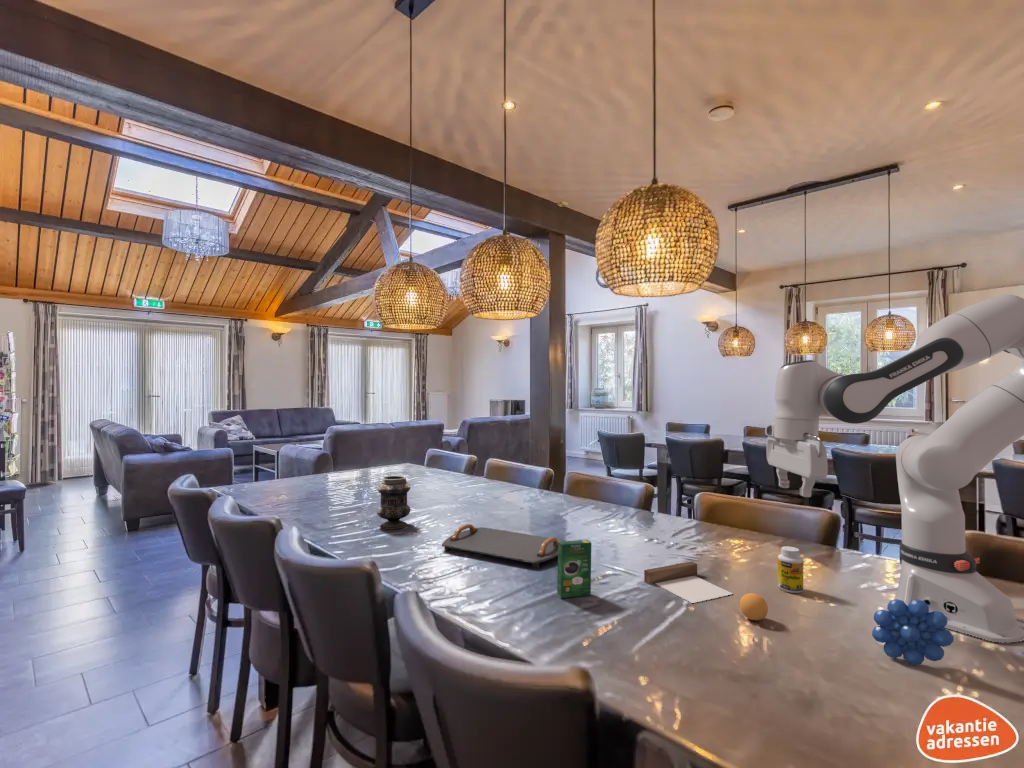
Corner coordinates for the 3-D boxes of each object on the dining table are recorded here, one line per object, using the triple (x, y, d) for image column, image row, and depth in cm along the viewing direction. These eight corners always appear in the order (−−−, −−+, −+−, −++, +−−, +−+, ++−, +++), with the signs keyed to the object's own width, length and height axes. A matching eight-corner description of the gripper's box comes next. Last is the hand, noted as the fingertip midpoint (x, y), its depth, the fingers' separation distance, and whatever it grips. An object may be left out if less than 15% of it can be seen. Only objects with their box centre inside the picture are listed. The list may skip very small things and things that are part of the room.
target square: (733, 594, 122) (733, 593, 122) (692, 603, 117) (692, 603, 117) (694, 576, 134) (694, 575, 134) (655, 584, 128) (655, 583, 128)
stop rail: (697, 574, 135) (697, 563, 135) (649, 584, 128) (649, 572, 128) (691, 572, 137) (691, 561, 137) (644, 581, 130) (644, 570, 130)
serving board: (432, 552, 156) (432, 532, 156) (474, 533, 176) (474, 516, 176) (544, 574, 137) (544, 551, 137) (576, 550, 157) (576, 531, 157)
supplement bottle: (777, 591, 124) (777, 549, 124) (778, 583, 129) (777, 543, 129) (803, 595, 121) (803, 553, 121) (803, 587, 126) (803, 547, 126)
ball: (773, 622, 107) (773, 596, 107) (755, 627, 105) (755, 601, 105) (752, 611, 112) (752, 587, 112) (734, 616, 110) (734, 591, 110)
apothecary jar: (417, 524, 186) (417, 476, 187) (393, 532, 176) (393, 481, 176) (393, 520, 193) (393, 473, 193) (369, 527, 183) (369, 478, 183)
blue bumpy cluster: (955, 666, 90) (954, 599, 90) (953, 683, 85) (952, 612, 85) (875, 644, 98) (875, 582, 98) (870, 658, 93) (869, 593, 93)
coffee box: (587, 591, 124) (587, 538, 124) (592, 595, 121) (591, 541, 122) (556, 594, 122) (556, 540, 122) (560, 599, 119) (560, 544, 120)
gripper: (837, 436, 104) (835, 503, 104) (787, 427, 124) (786, 483, 124) (806, 435, 104) (804, 502, 104) (761, 427, 124) (760, 482, 124)
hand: (794, 491), depth 114 cm, fingers open, 8 cm apart
